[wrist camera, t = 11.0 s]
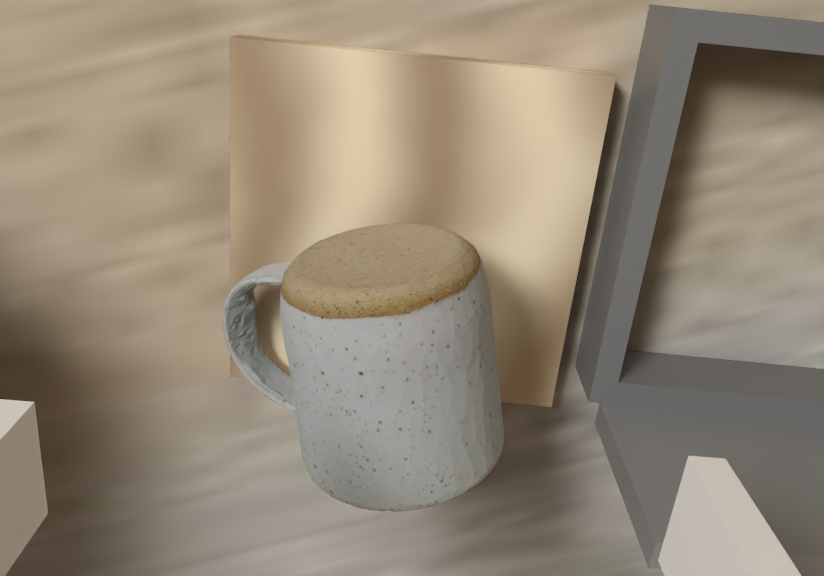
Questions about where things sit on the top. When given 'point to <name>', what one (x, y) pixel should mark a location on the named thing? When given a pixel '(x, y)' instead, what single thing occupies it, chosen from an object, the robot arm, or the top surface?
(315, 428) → the ceramic mug
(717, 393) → the case
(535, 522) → the top surface
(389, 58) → the beige square panel
